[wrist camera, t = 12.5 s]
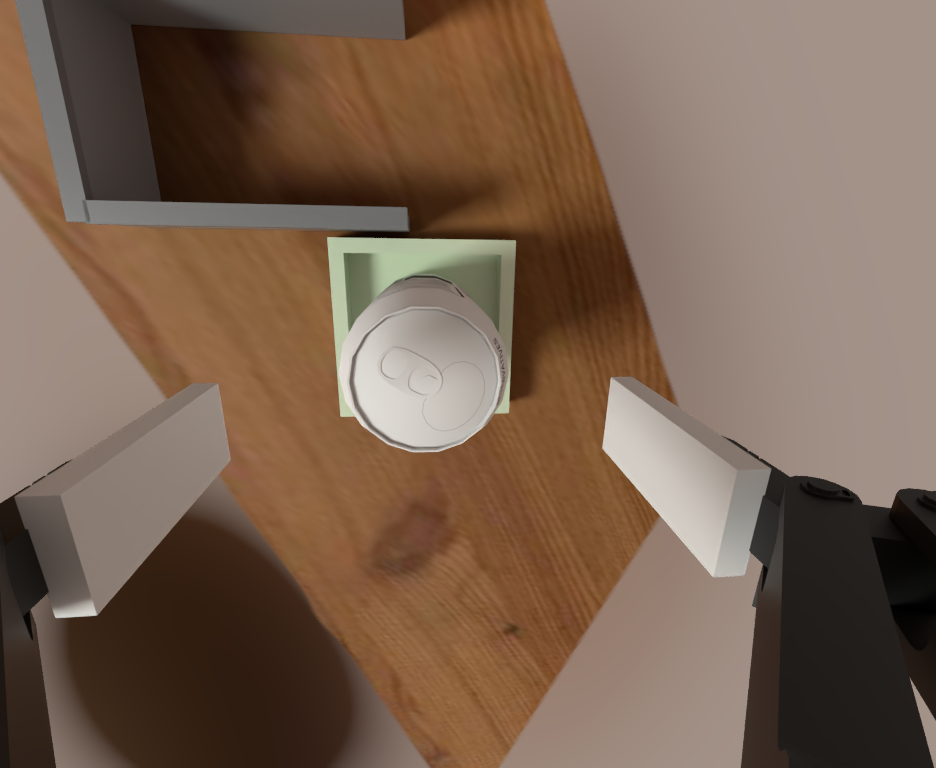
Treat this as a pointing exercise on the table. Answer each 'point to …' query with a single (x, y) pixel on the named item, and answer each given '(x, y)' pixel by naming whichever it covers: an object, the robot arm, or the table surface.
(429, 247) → the tray
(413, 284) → the supplement can
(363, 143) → the table surface
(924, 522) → the robot arm
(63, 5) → the dock
